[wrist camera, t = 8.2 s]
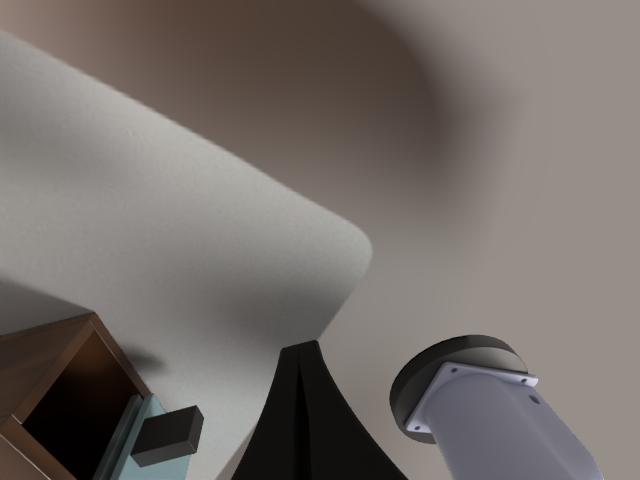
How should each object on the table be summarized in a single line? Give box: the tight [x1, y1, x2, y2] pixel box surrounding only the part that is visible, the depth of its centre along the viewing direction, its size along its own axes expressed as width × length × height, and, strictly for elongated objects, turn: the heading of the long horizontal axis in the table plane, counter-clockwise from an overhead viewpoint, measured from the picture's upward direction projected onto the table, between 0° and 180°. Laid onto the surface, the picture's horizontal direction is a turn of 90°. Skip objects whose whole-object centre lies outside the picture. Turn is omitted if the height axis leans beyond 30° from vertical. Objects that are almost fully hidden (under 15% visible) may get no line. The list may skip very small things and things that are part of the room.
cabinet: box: [0, 312, 151, 480], centre depth 20 cm, size 10×14×8 cm
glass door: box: [110, 394, 204, 480], centre depth 21 cm, size 4×7×6 cm, turn 12°
